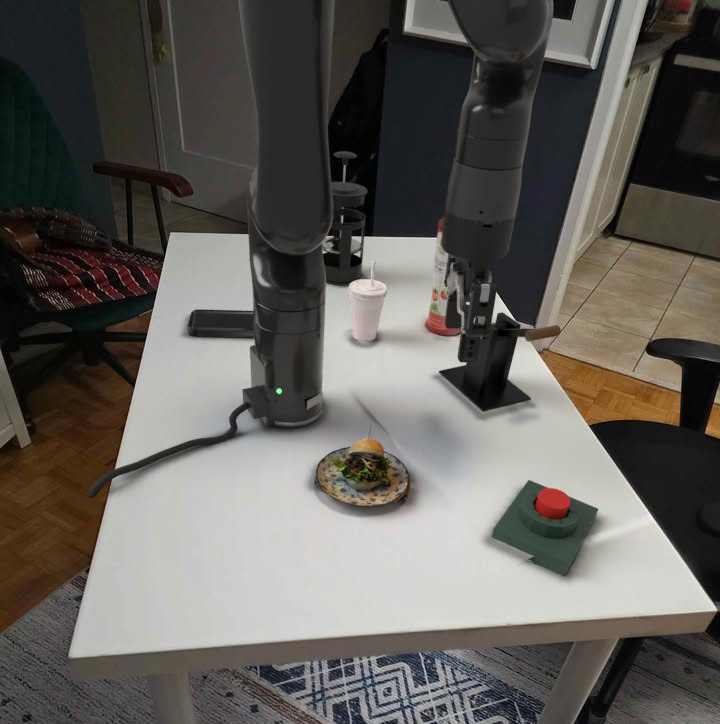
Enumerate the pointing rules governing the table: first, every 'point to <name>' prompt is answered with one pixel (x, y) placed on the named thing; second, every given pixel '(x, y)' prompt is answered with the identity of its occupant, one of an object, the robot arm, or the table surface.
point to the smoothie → (366, 306)
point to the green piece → (544, 529)
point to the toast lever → (526, 332)
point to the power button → (552, 503)
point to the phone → (221, 323)
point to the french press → (345, 231)
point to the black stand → (489, 371)
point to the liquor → (439, 291)
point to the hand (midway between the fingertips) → (459, 343)
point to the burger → (363, 475)
